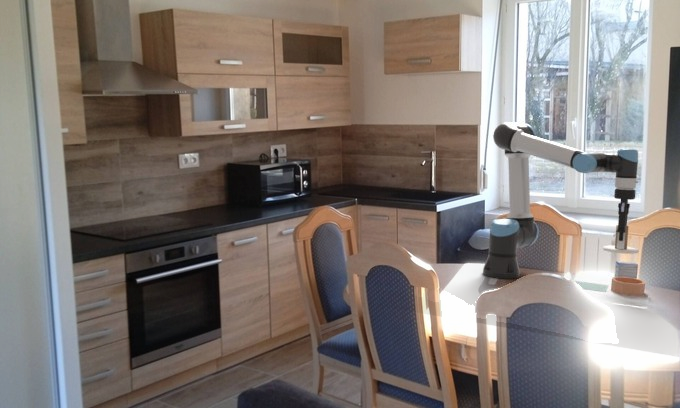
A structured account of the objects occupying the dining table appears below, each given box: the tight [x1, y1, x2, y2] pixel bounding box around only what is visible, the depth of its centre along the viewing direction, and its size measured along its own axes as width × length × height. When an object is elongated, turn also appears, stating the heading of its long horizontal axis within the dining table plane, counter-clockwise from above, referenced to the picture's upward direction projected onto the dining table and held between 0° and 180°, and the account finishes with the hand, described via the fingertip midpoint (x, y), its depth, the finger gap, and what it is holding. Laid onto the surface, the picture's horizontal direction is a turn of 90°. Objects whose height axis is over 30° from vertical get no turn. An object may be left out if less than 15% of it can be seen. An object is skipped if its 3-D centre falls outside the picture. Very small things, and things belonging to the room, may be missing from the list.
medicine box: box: [614, 260, 639, 279], centre depth 290 cm, size 8×4×9 cm, turn 84°
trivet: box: [574, 280, 610, 293], centre depth 279 cm, size 13×13×1 cm
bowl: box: [610, 276, 646, 296], centre depth 272 cm, size 12×12×5 cm
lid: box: [602, 224, 640, 255], centre depth 271 cm, size 13×13×10 cm
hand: (620, 247), depth 272 cm, fingers closed on lid, 4 cm apart
